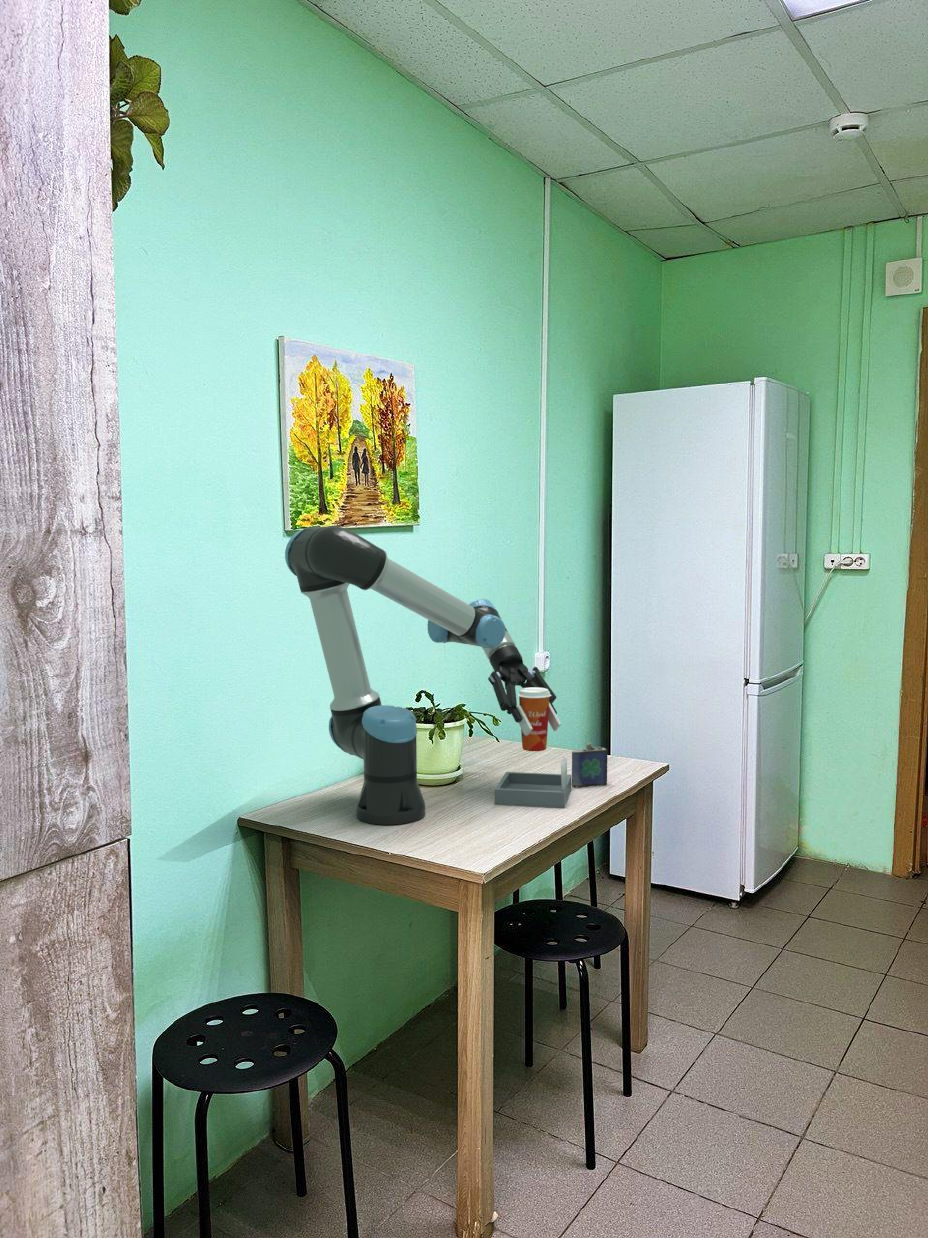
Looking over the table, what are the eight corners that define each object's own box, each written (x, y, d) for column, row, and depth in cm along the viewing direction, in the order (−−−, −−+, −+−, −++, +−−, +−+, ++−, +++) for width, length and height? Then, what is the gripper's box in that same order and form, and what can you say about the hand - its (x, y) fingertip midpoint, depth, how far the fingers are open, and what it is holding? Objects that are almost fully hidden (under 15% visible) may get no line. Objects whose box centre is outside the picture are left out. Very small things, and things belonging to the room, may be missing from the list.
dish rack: (494, 804, 209) (494, 761, 208) (506, 785, 225) (505, 745, 224) (564, 808, 206) (564, 764, 205) (571, 788, 221) (571, 748, 220)
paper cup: (514, 751, 212) (514, 691, 211) (522, 744, 219) (522, 686, 218) (547, 753, 210) (547, 693, 208) (554, 746, 217) (554, 687, 216)
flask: (573, 788, 222) (573, 745, 221) (569, 785, 225) (569, 742, 224) (609, 785, 224) (609, 742, 223) (604, 782, 227) (604, 740, 226)
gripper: (529, 659, 231) (570, 733, 219) (461, 666, 220) (500, 745, 208) (542, 640, 226) (585, 715, 214) (473, 646, 215) (514, 726, 203)
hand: (543, 729), depth 211 cm, fingers closed on paper cup, 8 cm apart
